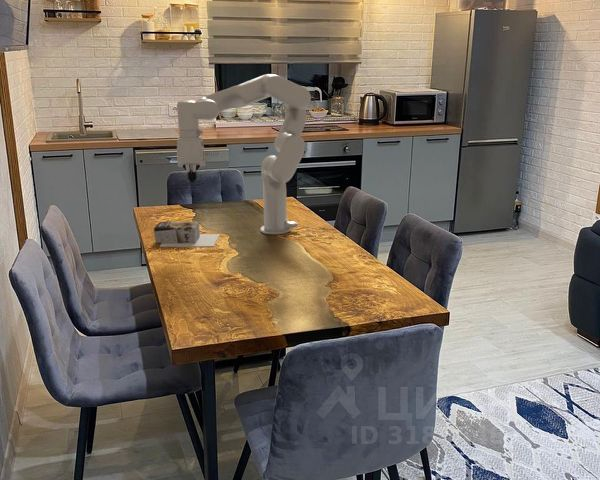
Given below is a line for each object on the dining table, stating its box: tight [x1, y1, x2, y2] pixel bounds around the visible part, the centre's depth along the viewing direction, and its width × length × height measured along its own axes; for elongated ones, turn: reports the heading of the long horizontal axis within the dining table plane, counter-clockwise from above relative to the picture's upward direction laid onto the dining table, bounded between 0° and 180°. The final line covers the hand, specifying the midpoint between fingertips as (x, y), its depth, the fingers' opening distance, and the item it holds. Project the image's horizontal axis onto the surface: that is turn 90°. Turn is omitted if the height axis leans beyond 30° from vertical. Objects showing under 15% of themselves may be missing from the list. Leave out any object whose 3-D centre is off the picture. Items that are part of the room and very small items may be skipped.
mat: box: [159, 233, 221, 248], centre depth 237 cm, size 21×16×1 cm
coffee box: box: [153, 221, 201, 244], centre depth 236 cm, size 9×6×16 cm
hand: (192, 181), depth 230 cm, fingers closed
